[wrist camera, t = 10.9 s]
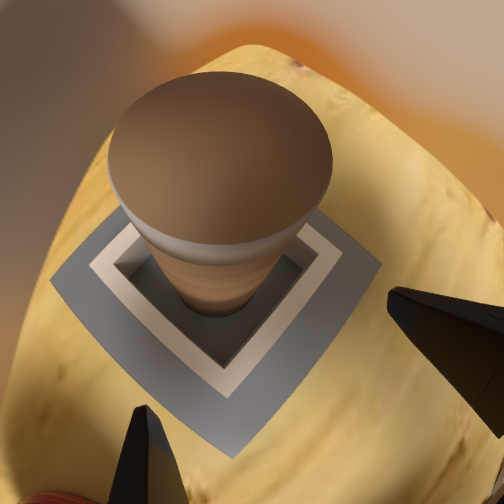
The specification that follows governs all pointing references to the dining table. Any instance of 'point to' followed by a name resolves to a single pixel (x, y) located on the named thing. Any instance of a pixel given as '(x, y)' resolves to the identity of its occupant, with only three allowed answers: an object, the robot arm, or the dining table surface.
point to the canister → (54, 499)
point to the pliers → (498, 482)
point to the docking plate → (216, 324)
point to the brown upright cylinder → (219, 181)
